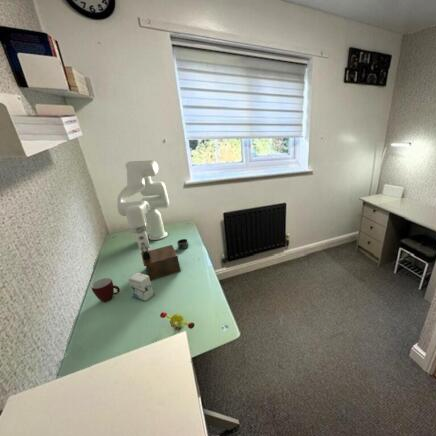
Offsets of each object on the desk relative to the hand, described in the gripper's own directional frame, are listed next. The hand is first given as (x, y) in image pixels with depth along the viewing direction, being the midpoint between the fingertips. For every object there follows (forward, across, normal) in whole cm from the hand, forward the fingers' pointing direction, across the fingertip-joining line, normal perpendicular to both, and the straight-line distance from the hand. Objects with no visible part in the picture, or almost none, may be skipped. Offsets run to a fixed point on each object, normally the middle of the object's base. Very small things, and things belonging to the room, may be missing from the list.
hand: (146, 256), depth 133 cm
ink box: (+12, -19, +5) cm, 23 cm away
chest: (+11, 0, -7) cm, 13 cm away
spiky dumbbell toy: (+12, -50, -5) cm, 52 cm away
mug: (+12, -12, +19) cm, 26 cm away
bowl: (+11, +21, -23) cm, 33 cm away
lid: (+1, 0, -6) cm, 6 cm away
